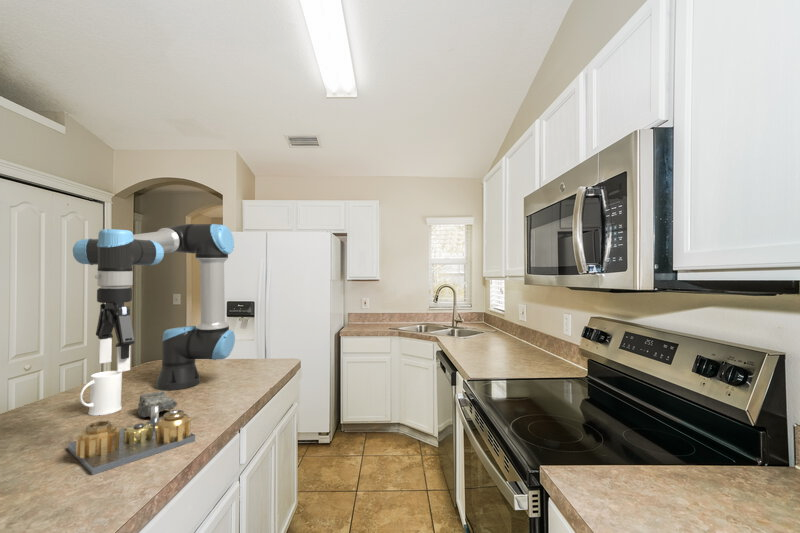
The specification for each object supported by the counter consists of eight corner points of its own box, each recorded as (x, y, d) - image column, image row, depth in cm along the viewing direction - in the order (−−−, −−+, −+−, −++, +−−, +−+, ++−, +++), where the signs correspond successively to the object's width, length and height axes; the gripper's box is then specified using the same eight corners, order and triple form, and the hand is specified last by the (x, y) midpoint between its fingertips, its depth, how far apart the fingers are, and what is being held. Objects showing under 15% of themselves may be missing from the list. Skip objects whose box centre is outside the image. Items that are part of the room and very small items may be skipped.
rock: (180, 412, 121) (180, 392, 121) (154, 422, 113) (154, 401, 113) (151, 407, 126) (152, 387, 126) (124, 416, 118) (125, 395, 118)
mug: (85, 421, 113) (87, 381, 114) (70, 416, 117) (71, 377, 117) (127, 408, 124) (128, 372, 124) (111, 405, 127) (113, 369, 128)
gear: (112, 439, 98) (113, 415, 98) (124, 448, 93) (124, 423, 93) (71, 451, 91) (72, 425, 91) (81, 461, 86) (82, 434, 86)
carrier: (163, 422, 113) (164, 394, 113) (196, 441, 101) (197, 410, 101) (67, 449, 95) (68, 416, 96) (93, 475, 83) (94, 437, 83)
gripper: (82, 285, 105) (81, 361, 105) (115, 290, 90) (113, 378, 90) (114, 284, 111) (113, 356, 111) (150, 288, 96) (149, 371, 96)
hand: (113, 366), depth 101 cm, fingers open, 13 cm apart
